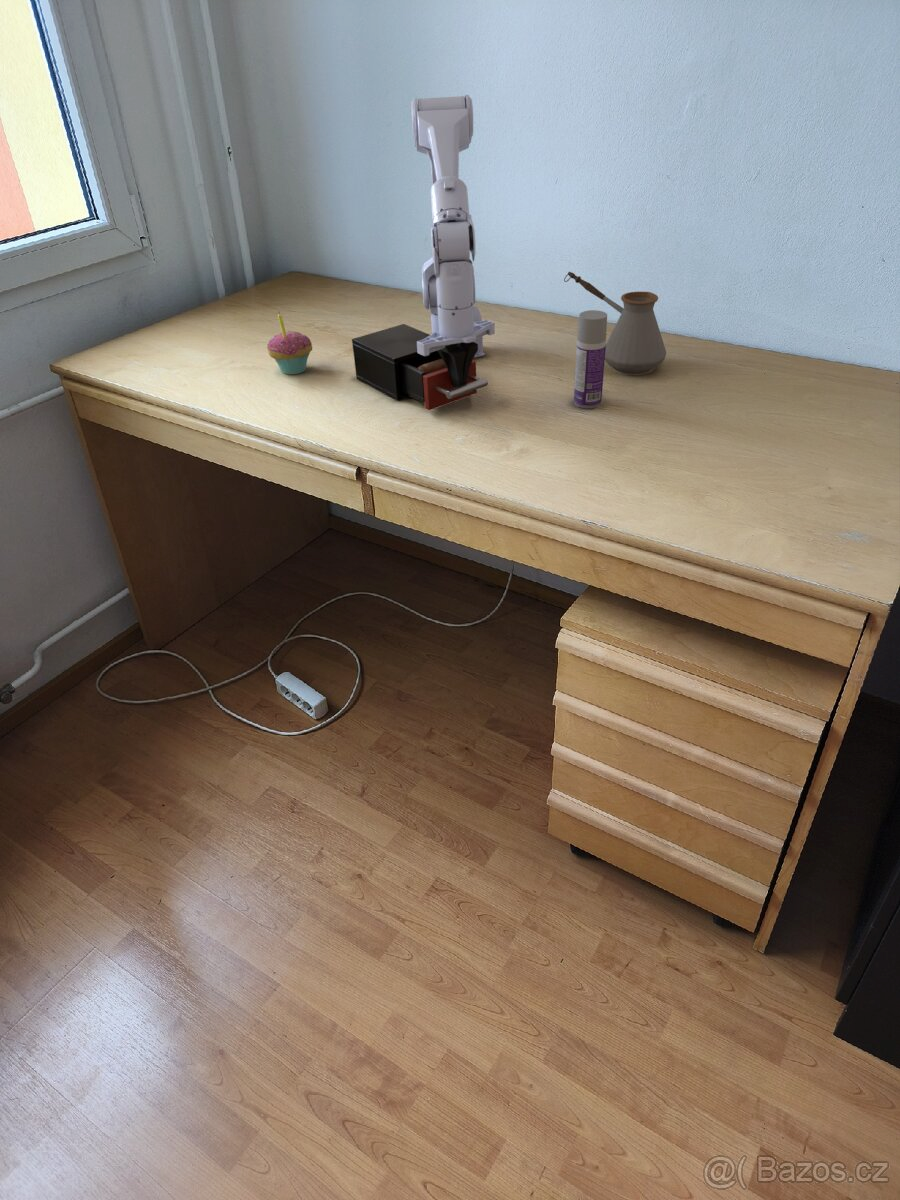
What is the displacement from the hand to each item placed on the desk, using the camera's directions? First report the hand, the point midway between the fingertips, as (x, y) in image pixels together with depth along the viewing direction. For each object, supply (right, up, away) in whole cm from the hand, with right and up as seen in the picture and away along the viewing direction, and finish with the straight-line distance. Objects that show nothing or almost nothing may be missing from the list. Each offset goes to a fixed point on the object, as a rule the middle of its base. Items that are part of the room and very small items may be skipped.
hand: (458, 386), depth 134 cm
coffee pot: (+29, +9, +17) cm, 34 cm away
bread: (-4, +2, +6) cm, 8 cm away
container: (+22, -2, +3) cm, 22 cm away
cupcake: (-32, +8, +21) cm, 39 cm away
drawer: (-3, 0, +6) cm, 7 cm away
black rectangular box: (-10, +5, +14) cm, 18 cm away
